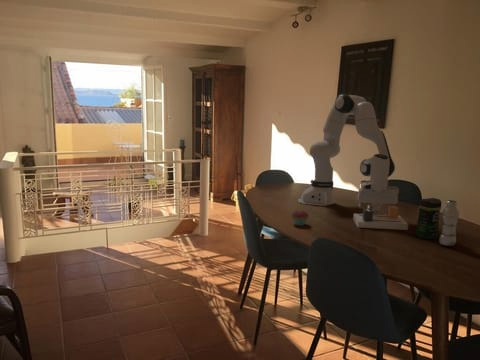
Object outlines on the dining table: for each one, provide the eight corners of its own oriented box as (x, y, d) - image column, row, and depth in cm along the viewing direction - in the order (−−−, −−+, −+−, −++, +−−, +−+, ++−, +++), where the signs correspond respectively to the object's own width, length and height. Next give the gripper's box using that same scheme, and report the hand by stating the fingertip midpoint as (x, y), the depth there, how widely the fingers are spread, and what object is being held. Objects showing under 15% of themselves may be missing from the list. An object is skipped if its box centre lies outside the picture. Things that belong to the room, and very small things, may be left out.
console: (357, 227, 200) (358, 221, 199) (353, 218, 215) (353, 213, 215) (407, 229, 197) (408, 223, 196) (399, 221, 212) (399, 215, 212)
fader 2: (389, 217, 207) (390, 208, 206) (387, 215, 212) (388, 205, 211) (397, 217, 206) (398, 208, 205) (395, 215, 211) (396, 206, 210)
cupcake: (309, 223, 206) (310, 200, 204) (306, 227, 198) (307, 204, 196) (292, 221, 209) (293, 199, 207) (289, 225, 201) (290, 202, 199)
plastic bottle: (435, 243, 178) (440, 199, 174) (449, 242, 178) (454, 199, 175) (443, 248, 171) (448, 202, 168) (458, 247, 172) (464, 202, 168)
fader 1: (364, 220, 200) (364, 211, 199) (362, 218, 205) (363, 208, 204) (372, 221, 199) (373, 211, 198) (370, 218, 204) (371, 208, 203)
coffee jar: (427, 240, 180) (431, 201, 177) (412, 236, 187) (416, 197, 184) (441, 238, 185) (445, 199, 182) (426, 233, 192) (430, 195, 188)
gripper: (397, 185, 209) (395, 210, 212) (357, 183, 212) (355, 208, 215) (400, 187, 203) (398, 213, 206) (359, 185, 206) (357, 211, 209)
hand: (376, 211), depth 210 cm, fingers closed
